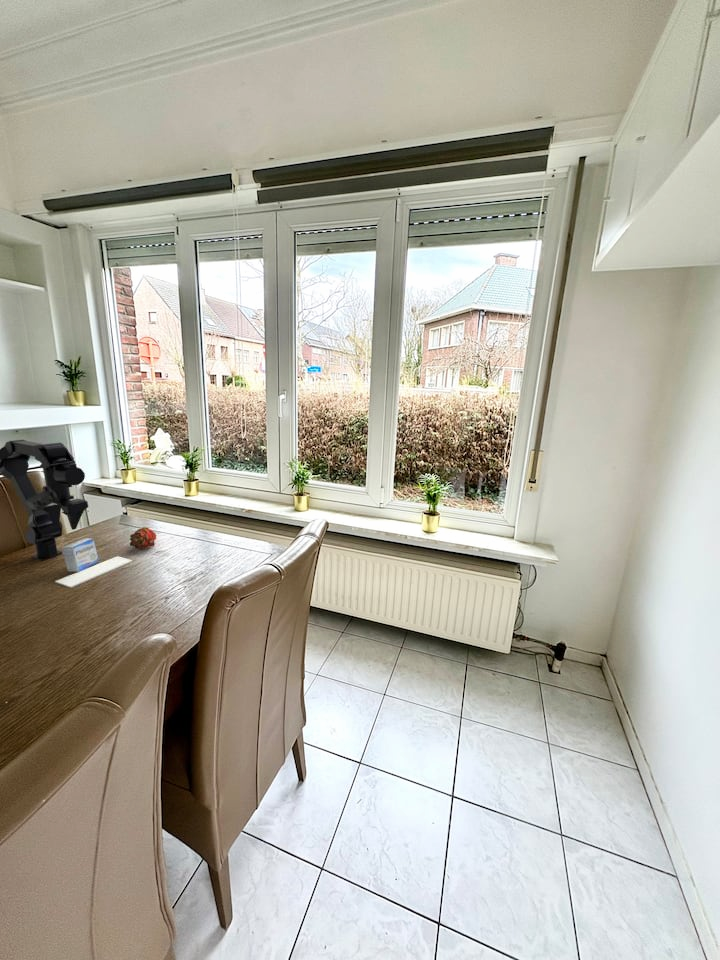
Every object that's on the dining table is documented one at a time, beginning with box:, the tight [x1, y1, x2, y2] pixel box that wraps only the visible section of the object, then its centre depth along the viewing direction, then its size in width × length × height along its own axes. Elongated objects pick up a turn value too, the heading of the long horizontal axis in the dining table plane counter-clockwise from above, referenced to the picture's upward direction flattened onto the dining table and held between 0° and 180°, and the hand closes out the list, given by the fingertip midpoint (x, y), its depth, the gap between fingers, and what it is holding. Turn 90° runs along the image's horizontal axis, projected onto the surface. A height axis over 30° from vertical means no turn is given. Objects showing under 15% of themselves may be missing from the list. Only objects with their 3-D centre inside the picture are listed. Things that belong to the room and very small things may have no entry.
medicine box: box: [61, 537, 100, 573], centre depth 126 cm, size 8×4×9 cm, turn 169°
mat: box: [54, 555, 133, 589], centre depth 125 cm, size 8×20×1 cm, turn 157°
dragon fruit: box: [129, 526, 157, 551], centre depth 143 cm, size 8×8×12 cm
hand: (65, 527), depth 127 cm, fingers open, 9 cm apart
